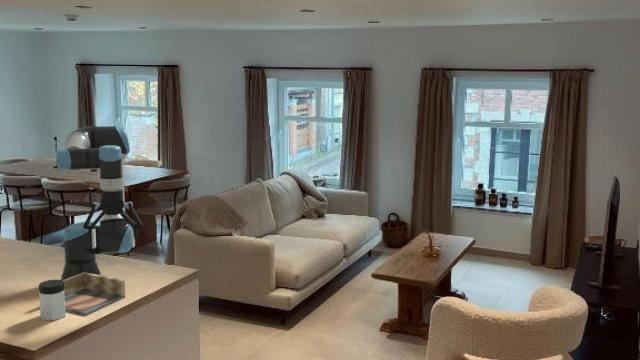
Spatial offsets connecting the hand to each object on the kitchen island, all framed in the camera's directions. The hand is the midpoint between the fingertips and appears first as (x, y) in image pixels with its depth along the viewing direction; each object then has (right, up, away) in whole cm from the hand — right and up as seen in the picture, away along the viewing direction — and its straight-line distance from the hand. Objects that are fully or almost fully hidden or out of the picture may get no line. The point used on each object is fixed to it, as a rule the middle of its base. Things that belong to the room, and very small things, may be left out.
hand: (113, 246), depth 229 cm
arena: (-13, -21, +6) cm, 25 cm away
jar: (-19, -24, -7) cm, 31 cm away
